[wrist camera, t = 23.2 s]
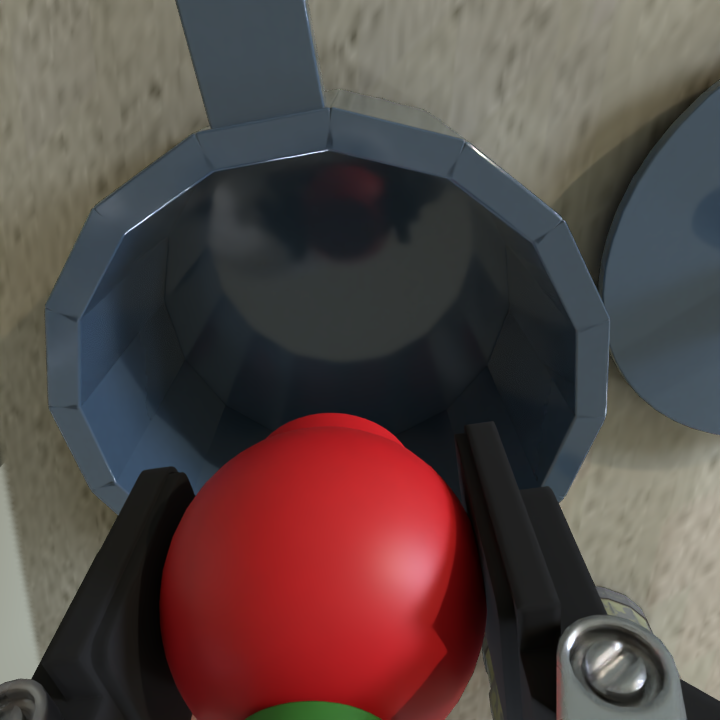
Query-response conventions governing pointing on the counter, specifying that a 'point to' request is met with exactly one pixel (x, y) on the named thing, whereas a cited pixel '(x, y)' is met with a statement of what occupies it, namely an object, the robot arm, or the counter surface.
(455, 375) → the pot
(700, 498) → the counter surface
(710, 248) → the lid
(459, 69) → the counter surface
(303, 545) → the red tomato
